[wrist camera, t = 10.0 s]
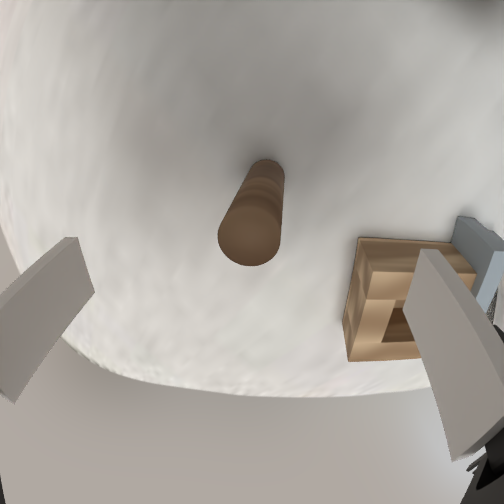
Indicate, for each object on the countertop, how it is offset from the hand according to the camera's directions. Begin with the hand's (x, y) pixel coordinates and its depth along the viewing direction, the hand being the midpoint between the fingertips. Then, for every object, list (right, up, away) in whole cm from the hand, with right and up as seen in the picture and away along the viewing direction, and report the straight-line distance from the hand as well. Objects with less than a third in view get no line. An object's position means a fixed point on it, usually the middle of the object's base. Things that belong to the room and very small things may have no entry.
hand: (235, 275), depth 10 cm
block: (+14, -2, +14) cm, 19 cm away
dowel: (+2, +6, +11) cm, 12 cm away
